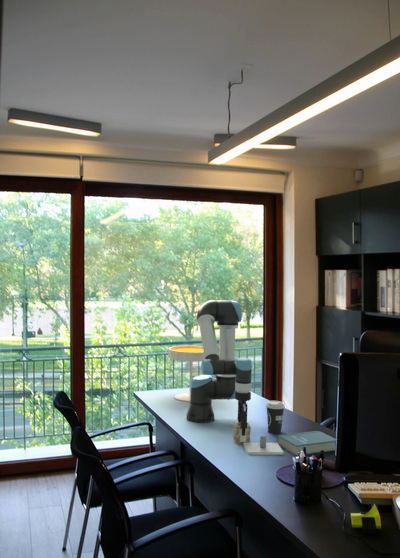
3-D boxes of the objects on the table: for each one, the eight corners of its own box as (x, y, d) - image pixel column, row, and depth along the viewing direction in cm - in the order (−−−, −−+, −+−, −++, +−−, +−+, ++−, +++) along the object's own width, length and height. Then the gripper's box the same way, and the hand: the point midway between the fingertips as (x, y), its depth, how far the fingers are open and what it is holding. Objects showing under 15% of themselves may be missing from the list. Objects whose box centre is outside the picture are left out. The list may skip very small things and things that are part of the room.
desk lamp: (186, 390, 359) (187, 344, 359) (223, 397, 342) (224, 348, 342) (157, 398, 335) (158, 348, 335) (195, 406, 318) (196, 354, 318)
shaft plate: (247, 454, 237) (248, 440, 237) (243, 445, 250) (243, 431, 250) (283, 454, 238) (283, 441, 238) (277, 445, 251) (277, 432, 251)
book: (296, 456, 238) (296, 445, 238) (277, 445, 253) (277, 434, 253) (337, 450, 247) (338, 440, 247) (317, 440, 261) (317, 430, 261)
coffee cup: (272, 435, 265) (273, 405, 265) (261, 430, 274) (262, 401, 273) (287, 433, 270) (288, 403, 269) (276, 428, 278) (277, 399, 278)
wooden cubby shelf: (235, 443, 252) (235, 425, 251) (233, 439, 259) (233, 420, 258) (250, 443, 252) (250, 425, 252) (247, 439, 259) (248, 421, 259)
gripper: (254, 396, 245) (253, 446, 246) (247, 386, 265) (246, 432, 265) (238, 396, 245) (236, 446, 245) (232, 386, 265) (231, 432, 265)
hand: (241, 439), depth 255 cm, fingers closed on wooden cubby shelf, 7 cm apart
